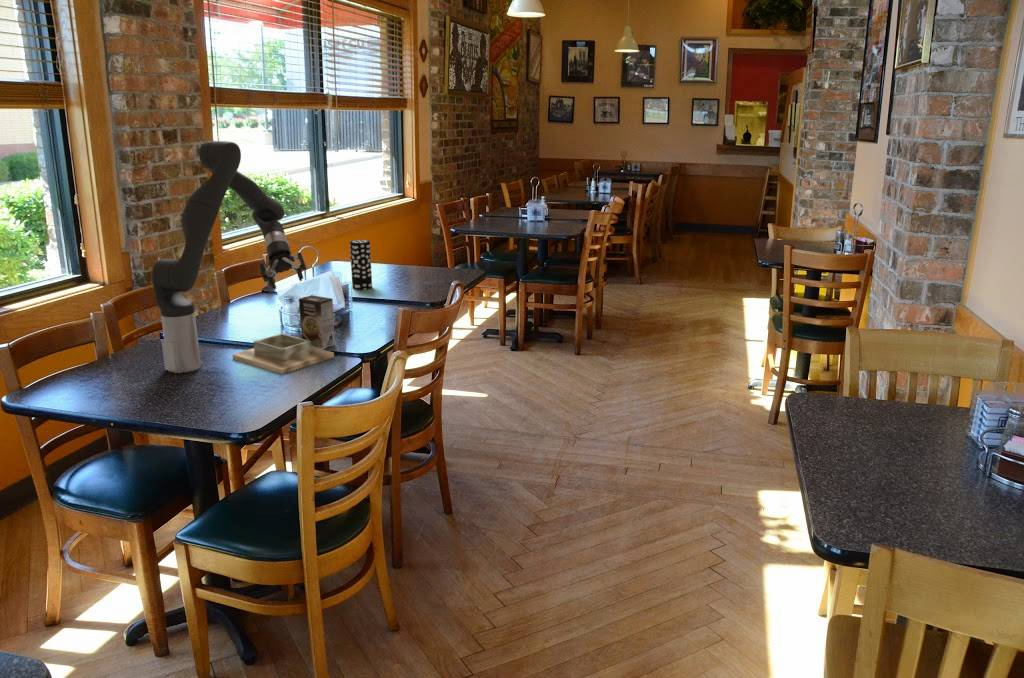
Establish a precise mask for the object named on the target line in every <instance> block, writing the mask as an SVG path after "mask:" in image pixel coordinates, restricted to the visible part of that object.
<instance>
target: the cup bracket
mask: <svg viewBox="0 0 1024 678" xmlns="http://www.w3.org/2000/svg"><path fill="white" fill-rule="evenodd" d="M334 357H335V352H334V351H331V350H327V349H324V350H323V349H319V348H315V347H312V346H311V341H309V340H305V339H302V337H297V336H293V335H289V334H286V333H277V334H275V335H271V336H268V337H264V338H262V339H257V340H255V341H253V347H252V348H249V349H246V350H243V351H242V350H241V351H238V352H236V353H233V354H232V359H233V360H236V361H238V362H242V363H244V364H245V363H246V364H249V365H251V366H255V367H258V368H261V369H264V370H267V371H271V372H273V371H274V372H273V373H276V372H277V374H279V373H281V375H285V374H287V373H286V372H288V373H291V372H294V371H297V370H300V369H302V368H306V367H309V366H312V365H314V364H317V363H320V362H321V363H322V362H324V361H326V360H329V359H333V358H334ZM299 368H300V369H299ZM296 369H297V370H296ZM293 370H294V371H293ZM290 371H291V372H290ZM284 373H285V374H284Z"/></svg>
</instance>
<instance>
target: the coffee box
mask: <svg viewBox="0 0 1024 678" xmlns="http://www.w3.org/2000/svg"><path fill="white" fill-rule="evenodd" d="M333 304H334V303H333V298H331V297H325V296H318V295H312V294H311V295H309V296H304V297H300V298H298V305H299V307H298V308H299V317H300V318H299V320H300V331H301V338H302V339H305V340H309V341H311V346H315V347H320V348H324V347H328V346H331V345H334V344H335V345H336V340H335V339H336V338H335V324H334V322H335V321H334V305H333ZM335 345H334V346H335Z"/></svg>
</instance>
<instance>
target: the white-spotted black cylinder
mask: <svg viewBox="0 0 1024 678" xmlns="http://www.w3.org/2000/svg"><path fill="white" fill-rule="evenodd" d="M349 253H350V255H349V256H350V269H351V285H352V289H353V290H354V289H356V290H355V291H368V290H370V289H372V288H373V279H372V277H373V275H372V260H371V258H372V256H371V240H369V239H354V240H350V241H349Z"/></svg>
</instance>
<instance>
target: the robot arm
mask: <svg viewBox="0 0 1024 678" xmlns="http://www.w3.org/2000/svg"><path fill="white" fill-rule="evenodd" d="M241 152H242V151H241V147H240V146H239V145H238V143H236V142H234V141H228V140H211V141H205V142H203V143H202V144H201V146H200V147H199V151H198V156H199V157H198V158H199V161H200V163H201V165H202V166H203V167H204V168H205V169H206V170H207V171H208V172H210V174H211V175H210V176H209V178H208V179H207V180H206V181H205V182H204V183H203V184H201V185H200V186H199V187H198V188H197V189H196V190H195V191H194V192H192V194H190V196H189V198H188V199H187V201H186V203H185V206H184V209H183V211H182V213H181V218H180V222H181V228H182V233H183V236H184V241H185V243H184V248H183V251H182V254H181V256H180V258H179V259H172V258H171V259H170V258H163V259H159V260H157V261H156V262H155V263H154V264H153V267H152V271H151V280H152V281H151V282H152V285H153V290H154V291H153V292H154V296H155V301H156V305H157V307H158V309H159V310H160V316H161V317H160V318H161V324H162V333H163V339H161V347H162V349H161V350H162V354H163V362H164V370H165V371H167V370H168V372H170V373H173V372H174V374H176V373H178V374H182V373H183V372H184V373H190V371H191V372H194V371H197V370H199V369H200V368H201V367H202V361H201V354H200V353H201V352H200V346H199V337H198V329H197V328H198V327H197V322H196V321H197V320H196V312H195V305H194V302H193V301H191V300H189V299H188V298H185V297H184V296H183V295H182V294H181V293H185V292H189V291H191V289H193V288H194V287H195V284H196V282H197V278H198V277H199V273H200V272H199V271H200V267H201V265H202V259H203V257H204V253H205V249H206V246H207V243H208V241H209V238H210V236H211V235H210V234H211V232H212V230H213V227H214V226H215V223H216V220H217V217H218V214H219V212H220V208H221V205H222V203H223V201H224V198H225V196H226V195H227V194H226V193H227V191H228V188H230V189H231V190H232V191H233V192H234V193H235V194H236V195H237V196H238V197H239V198H240V199H241V200H242V201H243V202H244V204H245V205H246V206H247V207H248V208H249V209H250V210H252V215H251V216H252V220H253V221H254V223H255V224H256V225H257V226H258V228H259V230H260V231H261V233H262V236H263V239H264V247H265V249H266V254H267V258H268V263H266V264H264V263H260V264H259V267H260V273H261V277H262V280H263V282H264V283H265V282H269V286H270V287H271V289H273V290H276V289H277V285H276V283H275V278H276V277H278V275H279V274H281V273H283V272H289V271H290V270H291V271H293V272H296V274H297V278H298V280H299V282H302V281H303V280H302V279H304V275H303V271H305V270H306V271H307V264H306V263H305V260H304V258H303V256H302V252H300V251H298V252H297V254H295V255H293V254H292V251H291V248H290V244H289V241H288V239H287V235H286V233H285V230H284V227H283V225H282V223H281V222H279V221H281V220H282V219H283V218H284V216H285V210H284V207H283V206H282V204H281V203H280V202H279V201H278V200H277V199H274V198H273V197H271V196H269V195H267V194H266V193H265V192H264V191H263V190H262V189H261V187H260V186H259V185H258V184H257V183H256V182H255V181H254V180H253V179H252V178H251V177H250V178H249V177H248V176H246V175H245V174H243V173H241V172H239V171H238V169H239V166H240V164H241V160H242V153H241ZM295 261H297V262H300V264H297V263H296V262H295ZM269 269H270V270H269ZM268 270H269V272H268ZM267 272H268V274H267ZM180 292H181V293H180Z"/></svg>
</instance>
